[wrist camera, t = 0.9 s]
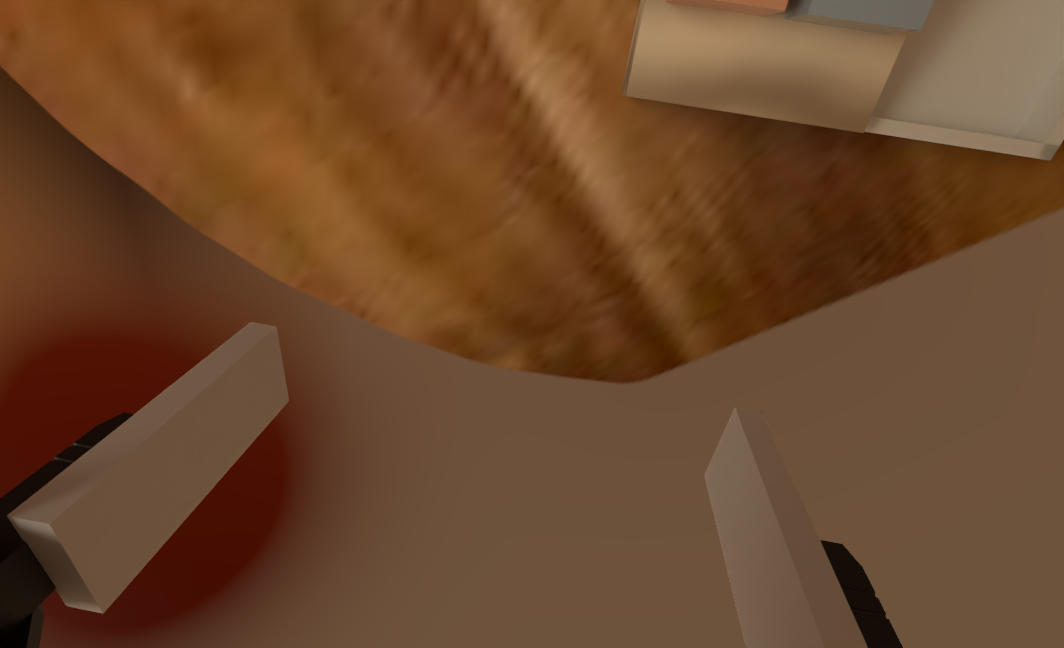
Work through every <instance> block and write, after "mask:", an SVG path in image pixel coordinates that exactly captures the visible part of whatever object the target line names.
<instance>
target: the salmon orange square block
mask: <svg viewBox="0 0 1064 648" xmlns="http://www.w3.org/2000/svg"><path fill="white" fill-rule="evenodd" d="M666 2H669V3H676V4H683V5H690V6H696V7H703V8H710V9H717V10H723V11H730V12H737V13H744V14H750V15H757V16H764V17H765V16H768V15H772V14H775V13H779V12H782V11H785V9H786V6H787V3H788V0H666Z"/></svg>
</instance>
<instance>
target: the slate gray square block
mask: <svg viewBox="0 0 1064 648" xmlns="http://www.w3.org/2000/svg"><path fill="white" fill-rule="evenodd" d="M934 1H935V0H791V1H790V4H789V7H788V11H787V14H786V17H785V20H791V21H798V22H805V23H811V24H818V25H825V26H832V27H838V28H845V29H852V30H859V31H865V32H872V33H879V34H894V33H904V32H913V31H921V29H922V27H923V25H924V23H925V21H926V18H927V16H928V14H929V12H930V9H931V7H932V5H933V3H934Z"/></svg>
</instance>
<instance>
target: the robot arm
mask: <svg viewBox="0 0 1064 648" xmlns="http://www.w3.org/2000/svg"><path fill="white" fill-rule="evenodd" d="M288 401H289V398H288V392H287V386H286V380H285V374H284V369H283V363H282V357H281V351H280V345H279V339H278V333H277V328H276V326H270V325H265V324H258V323H253V322H250V323H249V324H248V325H246V326H245V327H244V328H242V329H241V330H240V331H239V332H237V333H236V334H235V335H234V336H233V337H231V338H230V339H229V340H228V341H226V342H225V343H224V344H222V345H221V346H220V347H219V348H217V349H216V350H215V351H214V352H212V353H211V354H210V355H208V356H207V357H206V358H205V359H204V360H203V361H201V362H200V363H199V364H197V365H196V366H195V367H193V368H192V369H191V370H190V371H188V372H187V373H186V374H185V375H183V376H182V377H181V378H180V379H178V380H177V381H176V382H175V383H173V384H172V385H171V386H169V387H168V388H167V389H166V390H164V391H163V392H162V393H161V394H159V395H158V396H157V397H156V398H154V399H153V400H152V401H151V402H149V403H148V404H147V405H146V406H144V407H143V408H142V409H141V410H139V411H138V412H137V413H136V414H129V413H122V414H120V415H118V416H116V417H114V418H112V419H110V420H108V421H105V422H103V423H102V424H99V425H97V426H95V427H94V428H93V429H91V430H90V431H89V432H87V433H86V434H85V435H84V436H82V437H81V438H80V439H78V440H77V441H76V442H74V445H73V446H72V447H70V446H69V447H68V448H66V449H65V450H64V451H62V452H61V453H60V454H58V455H57V456H56V457H55V460H54V461H49V462H48V463H47V464H45V465H44V466H43V467H41V468H40V469H39V470H37V471H36V472H35V473H33V474H32V475H31V476H29V477H28V478H27V479H25V480H24V481H23V482H21V483H20V484H19V485H18V486H16V487H15V488H14V489H12V490H11V491H10V492H8V493H7V494H6V495H4V496H3V497H2V498H0V648H39V645H40V639H41V632H42V627H43V620H44V611H43V606H42V605H41V603H42V602H43V600H44V599H46V598H47V597H48V596H49V595H50V594H51V593H52V592H53V590H55V589H56V591H57V592H58V594H59V595H60V597H61V598H62V600H63V601H64V603H65V604H66V606H69V607H74V608H79V609H84V610H89V611H94V612H99V613H104V612H105V611H106V610H107V608H108V607H109V606H110V605H111V604H112V603H113V602H114V600H115V599H116V598H117V597H118V596H119V595H120V594H121V592H122V591H123V590H124V589H125V588H126V587H127V586H128V584H129V583H130V582H131V581H132V580H133V579H134V578H135V576H136V575H137V574H138V573H139V572H140V571H141V570H142V568H143V567H144V566H145V565H146V564H147V563H148V562H149V560H150V559H151V558H152V557H153V556H154V555H155V554H156V552H157V551H158V550H159V549H160V548H161V547H162V545H163V544H164V543H165V542H166V541H167V540H168V538H169V537H170V536H171V535H172V534H173V533H174V532H175V530H176V529H177V528H178V527H179V526H180V525H181V524H182V523H183V521H184V520H185V519H186V518H187V517H188V516H189V515H190V513H191V512H192V511H193V510H194V509H195V508H196V506H197V505H198V504H199V503H200V502H201V501H202V500H203V499H204V497H205V496H206V495H207V494H208V493H209V492H210V491H211V489H212V488H213V487H214V486H215V485H216V484H217V482H218V481H219V480H220V479H221V478H222V477H223V476H224V474H225V473H226V472H227V471H228V470H229V469H230V468H231V466H232V465H233V464H234V463H235V462H236V460H238V458H239V457H240V456H241V455H242V454H243V453H244V452H245V450H246V449H247V448H248V447H249V446H250V445H251V444H252V442H253V441H254V440H255V439H256V438H257V437H258V436H259V434H260V433H261V432H262V431H263V430H264V429H265V427H266V426H267V425H268V424H269V423H270V422H271V421H272V419H273V418H274V417H275V416H276V415H277V414H278V413H279V411H280V410H281V409H282V408H283V407H284V406H285V405H286V403H287V402H288ZM704 476H705V481H706V485H707V489H708V493H709V497H710V501H711V506H712V510H713V514H714V518H715V522H716V526H717V530H718V535H719V538H720V542H721V547H722V551H723V555H724V559H725V563H726V567H727V571H728V576H729V579H730V584H731V588H732V591H733V596H734V600H735V604H736V609H737V613H738V617H739V621H740V625H741V629H742V633H743V637H744V641H745V645H746V648H903V647H902V645H901V643H900V641H899V639H898V637H897V635H896V633H895V631H894V629H893V627H892V625H891V623H890V621H889V619H886V617H885V615H886V613H885V611H884V609H883V607H882V605H881V603H880V601H879V600H878V598H876V597H875V591H874V589H873V587H872V585H871V583H870V581H869V579H868V577H867V575H866V574H865V572H864V570H863V567H862V566H861V565H860V564H859V563H858V562H857V561H856V560H855V558H854V557H853V556H852V555H851V554H850V553H849V551H848V550H847V549H846V548H845V547H844V546H843V544H838V543H833V542H828V541H822V540H820V539H819V537H818V535H817V532H816V530H815V528H814V526H813V523H812V521H811V519H810V517H809V514H808V512H807V510H806V508H805V505H804V503H803V501H802V499H801V496H800V494H799V492H798V490H797V487H796V485H795V483H794V481H793V478H792V476H791V474H790V472H789V470H788V467H787V465H786V463H785V460H784V458H783V456H782V454H781V451H780V449H779V447H778V445H777V443H776V440H775V438H774V436H773V433H772V431H771V429H770V427H769V424H768V422H767V420H766V418H765V416H764V413H763V412H762V411H755V410H750V409H745V408H738V407H735V408H734V410H733V412H732V415H731V417H730V419H729V421H728V424H727V426H726V428H725V430H724V432H723V435H722V437H721V439H720V442H719V444H718V446H717V448H716V450H715V453H714V455H713V457H712V460H711V462H710V464H709V467H708V469H707V471H706V473H705V475H704Z"/></svg>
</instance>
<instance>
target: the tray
mask: <svg viewBox="0 0 1064 648" xmlns="http://www.w3.org/2000/svg"><path fill="white" fill-rule="evenodd" d="M864 132H870V133H876V134H883V135H889V136H896V137H902V138H909V139H915V140H921V141H928V142H934V143H941V144H947V145H954V146H960V147H966V148H973V149H979V150H986V151H992V152H999V153H1005V154H1011V155H1018V156H1024V157H1031V158H1037V159H1043V160H1050V161H1051V159H1052V157H1053V156H1054V154H1055V153H1056V151H1057V149H1058V148H1059V146H1060V145H1061V143H1062V142H1063V140H1064V0H935V1H934V3H933V5H932V7H931V9H930V12H929V14H928V16H927V18H926V21H925V23H924V25H923V27H922V29H921V31H913V32H908V33H907V36H906V38H905V40H904V42H903V45H902V47H901V49H900V52H899V54H898V56H897V58H896V61H895V63H894V65H893V67H892V70H891V72H890V74H889V77H888V79H887V81H886V83H885V86H884V88H883V90H882V92H881V95H880V97H879V99H878V102H877V104H876V106H875V108H874V111H873V113H872V115H871V118H870V120H869V122H868V124H867V127H866V129H865V131H864Z"/></svg>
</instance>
